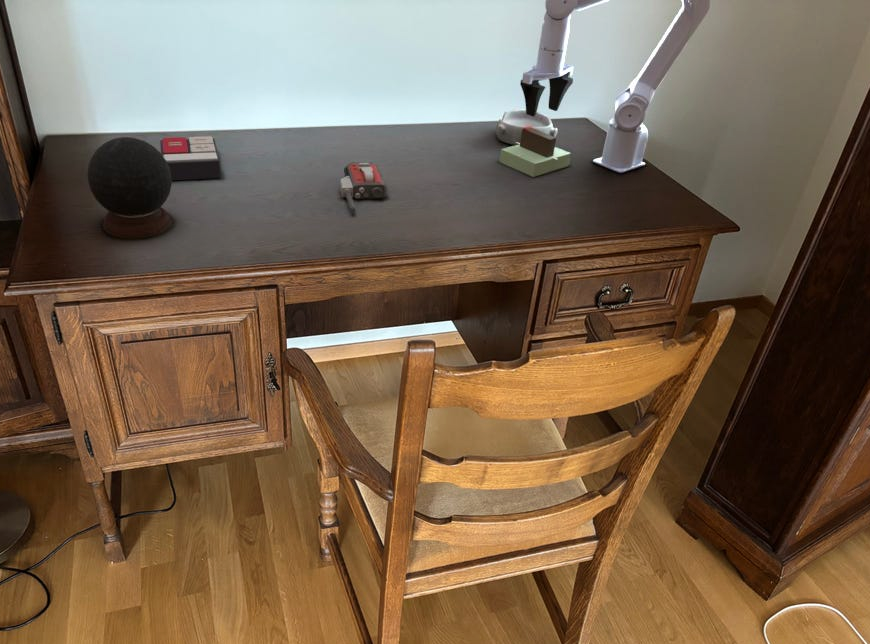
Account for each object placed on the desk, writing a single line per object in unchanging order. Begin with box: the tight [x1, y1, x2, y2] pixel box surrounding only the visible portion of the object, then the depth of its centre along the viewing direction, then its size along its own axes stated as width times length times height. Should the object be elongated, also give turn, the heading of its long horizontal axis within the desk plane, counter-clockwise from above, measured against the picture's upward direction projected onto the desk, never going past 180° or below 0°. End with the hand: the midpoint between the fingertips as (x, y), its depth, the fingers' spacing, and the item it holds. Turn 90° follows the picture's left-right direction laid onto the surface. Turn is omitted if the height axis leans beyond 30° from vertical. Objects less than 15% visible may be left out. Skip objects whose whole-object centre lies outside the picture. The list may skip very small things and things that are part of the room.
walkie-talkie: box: [339, 161, 387, 212], centre depth 145 cm, size 9×4×20 cm
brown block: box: [520, 126, 557, 157], centre depth 163 cm, size 8×2×4 cm, turn 41°
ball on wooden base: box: [87, 136, 173, 240], centre depth 125 cm, size 13×13×15 cm
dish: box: [495, 109, 558, 146], centre depth 178 cm, size 14×14×5 cm
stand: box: [499, 142, 572, 178], centre depth 165 cm, size 12×12×3 cm
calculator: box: [159, 135, 223, 181], centre depth 151 cm, size 11×4×15 cm
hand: (541, 112), depth 166 cm, fingers open, 7 cm apart
